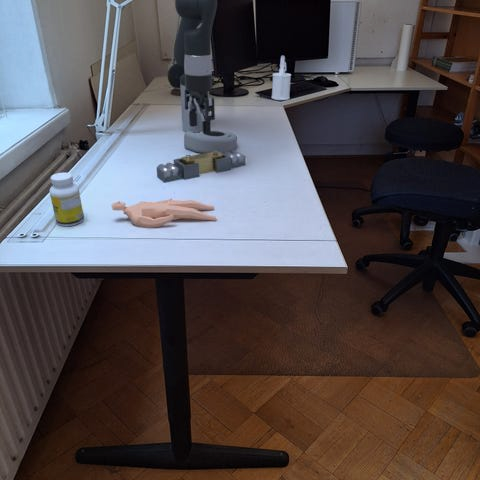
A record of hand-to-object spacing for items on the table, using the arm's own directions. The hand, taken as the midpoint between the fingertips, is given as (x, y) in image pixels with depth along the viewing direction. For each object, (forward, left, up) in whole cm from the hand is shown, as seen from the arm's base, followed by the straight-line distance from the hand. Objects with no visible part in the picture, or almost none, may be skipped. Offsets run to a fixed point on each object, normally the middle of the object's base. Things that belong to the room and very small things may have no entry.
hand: (199, 129), depth 130 cm
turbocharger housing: (-17, +14, -13) cm, 26 cm away
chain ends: (0, 0, -13) cm, 13 cm away
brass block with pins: (0, 0, -13) cm, 13 cm away
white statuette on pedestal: (-68, +81, -13) cm, 107 cm away
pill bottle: (+13, -43, -13) cm, 47 cm away
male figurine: (+23, -22, -13) cm, 35 cm away
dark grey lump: (-103, +42, -13) cm, 112 cm away
